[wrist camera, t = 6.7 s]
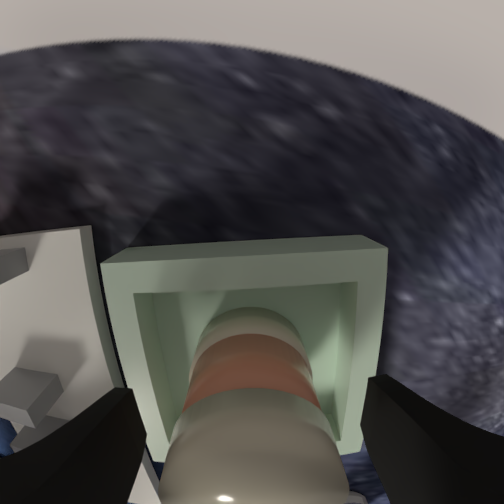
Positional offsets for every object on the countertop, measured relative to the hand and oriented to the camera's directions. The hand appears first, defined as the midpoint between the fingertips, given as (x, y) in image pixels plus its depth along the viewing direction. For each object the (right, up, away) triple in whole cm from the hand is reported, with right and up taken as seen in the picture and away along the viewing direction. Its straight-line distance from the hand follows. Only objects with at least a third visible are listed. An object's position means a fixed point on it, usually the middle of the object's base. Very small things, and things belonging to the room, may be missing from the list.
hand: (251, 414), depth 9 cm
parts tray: (0, +1, +4) cm, 4 cm away
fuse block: (-10, -3, +5) cm, 12 cm away
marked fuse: (0, +1, +3) cm, 4 cm away
